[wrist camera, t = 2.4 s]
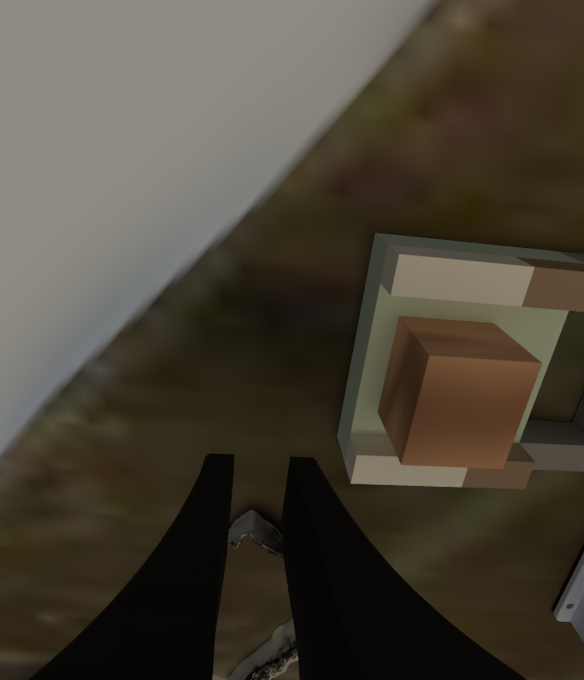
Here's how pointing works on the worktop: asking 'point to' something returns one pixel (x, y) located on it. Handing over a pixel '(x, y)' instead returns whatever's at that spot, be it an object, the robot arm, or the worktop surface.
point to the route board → (464, 305)
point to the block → (455, 392)
